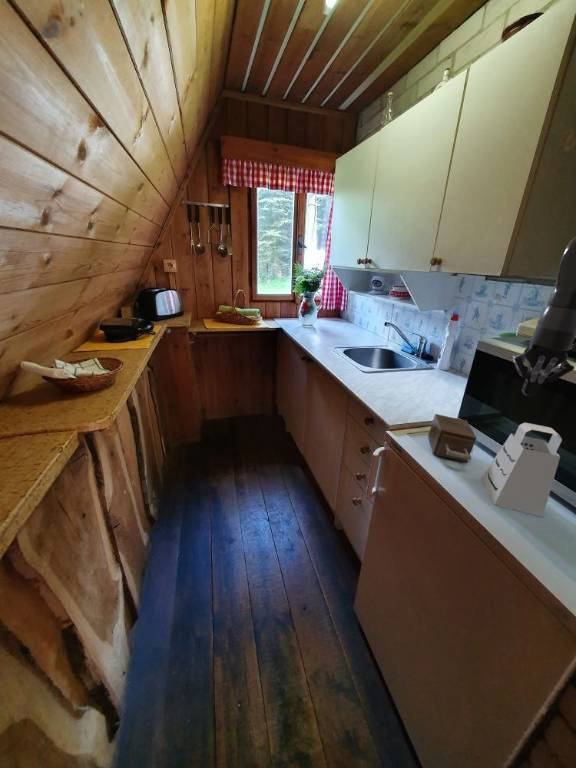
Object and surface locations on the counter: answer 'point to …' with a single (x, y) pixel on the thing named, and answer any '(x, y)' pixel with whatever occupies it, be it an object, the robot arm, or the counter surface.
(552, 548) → the counter surface
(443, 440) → the drawer
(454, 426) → the cabinet
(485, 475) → the grater
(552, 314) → the robot arm
